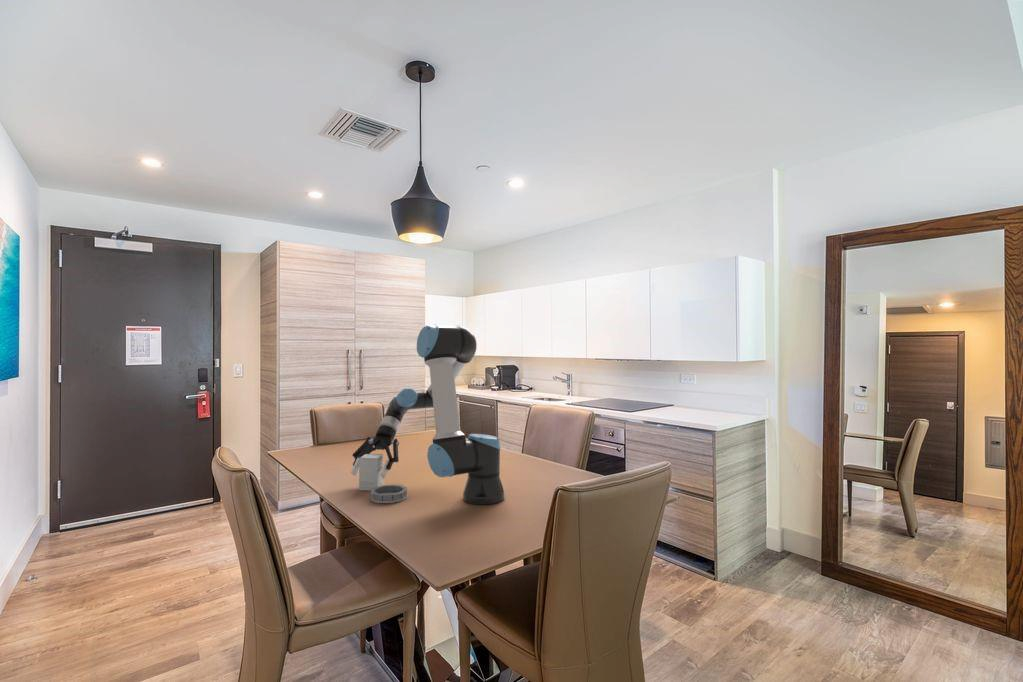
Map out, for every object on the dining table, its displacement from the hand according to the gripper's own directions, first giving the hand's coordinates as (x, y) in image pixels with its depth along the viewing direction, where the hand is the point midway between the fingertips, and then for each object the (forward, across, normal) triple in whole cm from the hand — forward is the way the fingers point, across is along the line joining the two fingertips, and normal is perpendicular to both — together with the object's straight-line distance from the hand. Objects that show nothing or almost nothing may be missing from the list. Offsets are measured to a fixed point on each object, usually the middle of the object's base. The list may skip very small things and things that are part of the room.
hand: (367, 475), depth 186 cm
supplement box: (+2, 0, -6) cm, 6 cm away
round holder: (+9, -13, +1) cm, 16 cm away
